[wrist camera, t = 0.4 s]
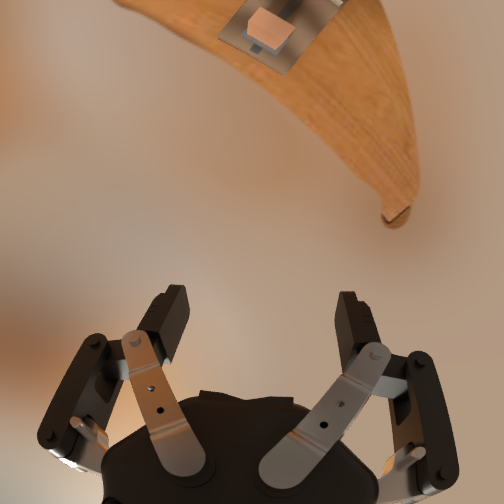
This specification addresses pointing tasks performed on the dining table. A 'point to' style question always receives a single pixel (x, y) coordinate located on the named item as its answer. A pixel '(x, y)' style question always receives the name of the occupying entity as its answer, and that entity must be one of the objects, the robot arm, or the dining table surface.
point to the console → (292, 11)
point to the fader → (268, 31)
